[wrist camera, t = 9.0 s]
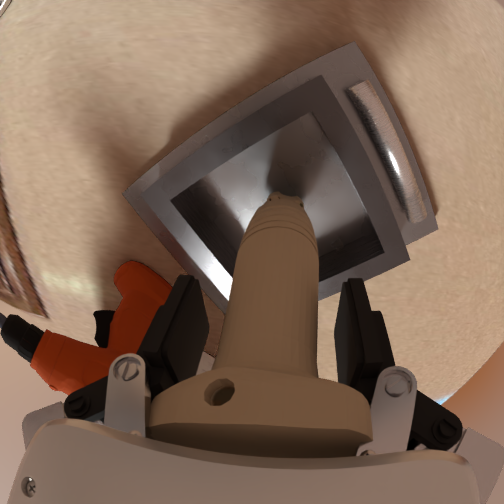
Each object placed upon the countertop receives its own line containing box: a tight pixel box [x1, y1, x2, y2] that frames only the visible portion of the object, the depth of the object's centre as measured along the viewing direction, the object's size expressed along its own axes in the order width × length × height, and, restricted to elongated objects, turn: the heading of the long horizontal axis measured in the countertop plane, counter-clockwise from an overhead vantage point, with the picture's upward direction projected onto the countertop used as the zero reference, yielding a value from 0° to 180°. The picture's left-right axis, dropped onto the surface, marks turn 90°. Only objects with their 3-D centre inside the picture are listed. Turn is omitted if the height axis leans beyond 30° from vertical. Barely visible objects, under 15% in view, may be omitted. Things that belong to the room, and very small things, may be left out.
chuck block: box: [122, 41, 438, 314], centre depth 19 cm, size 15×20×4 cm
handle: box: [149, 192, 373, 458], centre depth 13 cm, size 5×6×15 cm
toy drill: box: [0, 261, 173, 396], centre depth 20 cm, size 5×19×15 cm, turn 47°
